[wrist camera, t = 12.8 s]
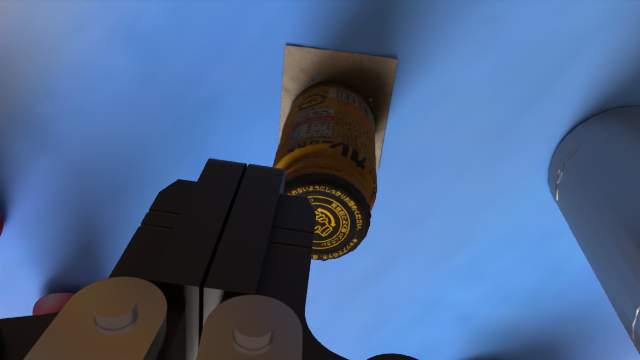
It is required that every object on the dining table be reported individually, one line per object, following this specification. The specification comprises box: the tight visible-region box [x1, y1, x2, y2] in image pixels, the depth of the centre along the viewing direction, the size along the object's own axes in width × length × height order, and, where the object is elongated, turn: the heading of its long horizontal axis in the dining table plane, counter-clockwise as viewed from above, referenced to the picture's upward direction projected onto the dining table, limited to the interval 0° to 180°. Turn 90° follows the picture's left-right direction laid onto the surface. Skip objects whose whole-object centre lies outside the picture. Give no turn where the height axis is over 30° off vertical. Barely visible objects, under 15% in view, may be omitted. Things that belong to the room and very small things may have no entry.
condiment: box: [273, 45, 398, 261], centre depth 32 cm, size 7×8×12 cm
